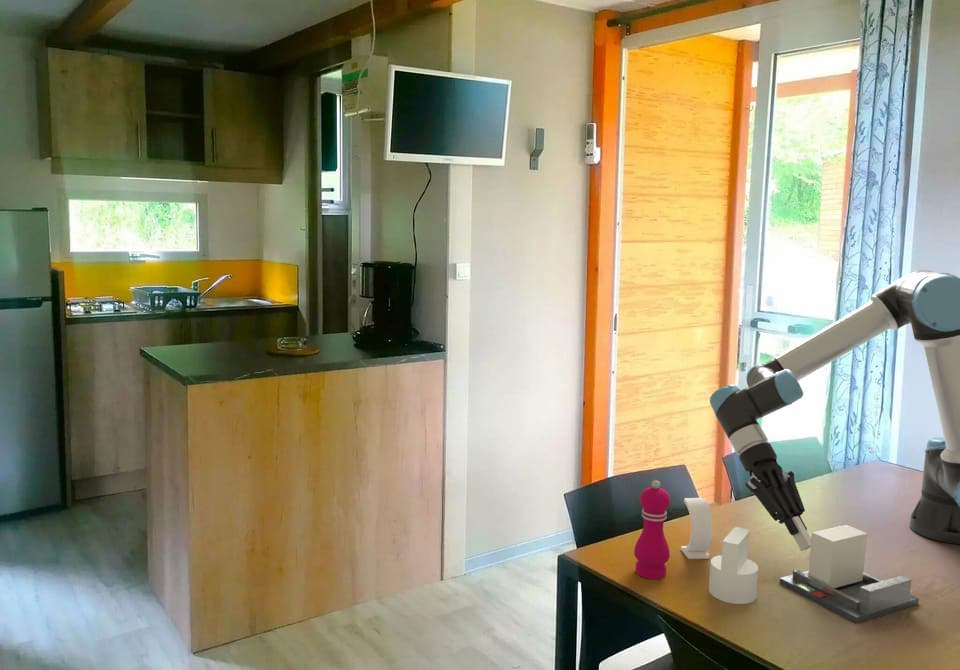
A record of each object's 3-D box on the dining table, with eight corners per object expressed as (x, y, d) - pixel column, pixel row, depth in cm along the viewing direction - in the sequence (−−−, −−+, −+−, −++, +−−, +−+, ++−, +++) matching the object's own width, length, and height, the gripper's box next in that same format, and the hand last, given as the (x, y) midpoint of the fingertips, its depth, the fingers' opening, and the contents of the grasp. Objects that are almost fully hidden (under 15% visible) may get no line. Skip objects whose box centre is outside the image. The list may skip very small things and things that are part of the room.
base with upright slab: (749, 608, 154) (754, 548, 152) (702, 595, 158) (707, 537, 157) (760, 590, 161) (765, 533, 160) (715, 578, 166) (720, 523, 164)
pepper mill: (668, 582, 164) (674, 487, 161) (632, 578, 165) (638, 484, 162) (667, 567, 171) (673, 476, 168) (633, 563, 172) (638, 473, 169)
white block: (838, 569, 168) (842, 523, 167) (862, 580, 163) (867, 533, 162) (804, 577, 164) (808, 530, 162) (828, 589, 159) (833, 541, 157)
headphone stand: (700, 549, 181) (704, 497, 179) (710, 560, 175) (714, 507, 173) (680, 549, 180) (684, 498, 178) (690, 561, 174) (694, 508, 173)
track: (839, 567, 173) (841, 542, 172) (918, 604, 157) (921, 576, 156) (779, 583, 165) (781, 557, 164) (856, 623, 149) (859, 594, 148)
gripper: (764, 454, 187) (817, 549, 175) (722, 460, 181) (774, 560, 169) (784, 437, 181) (840, 535, 169) (741, 444, 175) (797, 545, 163)
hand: (807, 547), depth 169 cm, fingers closed
